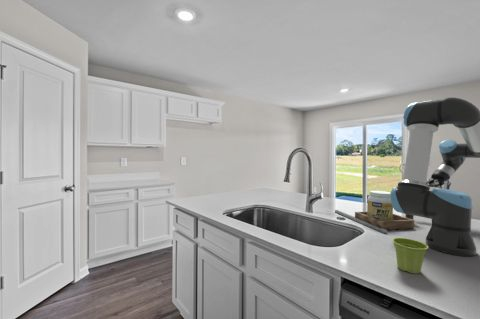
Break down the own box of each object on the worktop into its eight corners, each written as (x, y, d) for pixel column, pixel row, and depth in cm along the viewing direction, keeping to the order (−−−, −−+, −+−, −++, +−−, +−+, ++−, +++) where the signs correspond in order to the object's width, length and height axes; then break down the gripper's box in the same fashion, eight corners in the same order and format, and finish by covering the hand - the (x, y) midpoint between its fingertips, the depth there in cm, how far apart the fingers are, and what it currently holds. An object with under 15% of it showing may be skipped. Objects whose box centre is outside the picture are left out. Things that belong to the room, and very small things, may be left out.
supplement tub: (369, 224, 124) (370, 192, 124) (364, 218, 136) (365, 189, 135) (395, 226, 121) (396, 194, 120) (388, 220, 132) (389, 190, 132)
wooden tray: (429, 227, 120) (430, 204, 119) (381, 229, 114) (382, 205, 114) (397, 217, 139) (397, 197, 139) (354, 218, 134) (355, 198, 133)
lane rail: (387, 233, 110) (387, 230, 110) (384, 233, 110) (384, 230, 110) (336, 212, 149) (336, 209, 149) (334, 212, 149) (334, 210, 149)
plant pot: (411, 262, 81) (412, 237, 80) (435, 276, 71) (436, 248, 71) (385, 262, 80) (386, 237, 80) (405, 276, 71) (406, 248, 71)
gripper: (471, 181, 121) (447, 211, 119) (425, 176, 146) (404, 201, 143) (463, 171, 120) (439, 200, 118) (418, 168, 144) (397, 192, 142)
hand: (419, 201), depth 130 cm, fingers open, 13 cm apart
